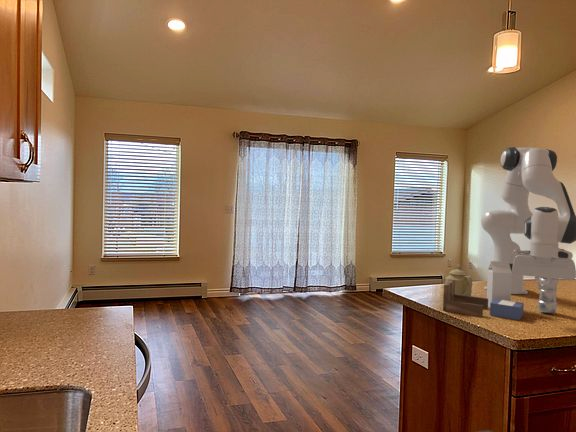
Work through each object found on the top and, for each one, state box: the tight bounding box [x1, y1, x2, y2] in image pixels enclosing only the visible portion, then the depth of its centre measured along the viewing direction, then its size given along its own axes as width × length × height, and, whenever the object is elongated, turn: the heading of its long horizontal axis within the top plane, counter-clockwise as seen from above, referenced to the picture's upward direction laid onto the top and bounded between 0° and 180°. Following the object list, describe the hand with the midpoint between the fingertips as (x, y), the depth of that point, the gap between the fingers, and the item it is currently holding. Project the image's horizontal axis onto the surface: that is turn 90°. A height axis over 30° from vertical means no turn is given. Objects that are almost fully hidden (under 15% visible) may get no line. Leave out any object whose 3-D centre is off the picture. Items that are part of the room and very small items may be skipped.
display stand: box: [442, 280, 489, 317], centre depth 175 cm, size 15×14×10 cm
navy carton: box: [489, 299, 525, 321], centre depth 167 cm, size 9×10×5 cm
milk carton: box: [486, 260, 512, 308], centre depth 178 cm, size 7×7×19 cm
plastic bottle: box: [537, 277, 559, 314], centre depth 172 cm, size 6×7×20 cm
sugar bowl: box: [444, 263, 473, 296], centre depth 196 cm, size 15×11×15 cm
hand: (542, 289), depth 161 cm, fingers closed
